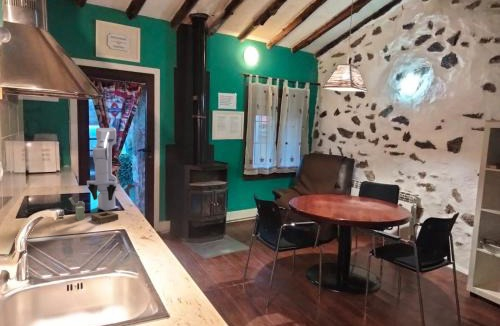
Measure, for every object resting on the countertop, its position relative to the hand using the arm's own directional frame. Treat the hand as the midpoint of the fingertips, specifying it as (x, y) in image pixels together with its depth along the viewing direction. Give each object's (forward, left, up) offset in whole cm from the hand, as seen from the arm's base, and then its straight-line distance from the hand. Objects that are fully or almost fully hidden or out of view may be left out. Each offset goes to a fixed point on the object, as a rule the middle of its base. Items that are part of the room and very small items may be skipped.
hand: (102, 199), depth 163 cm
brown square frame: (+2, 0, -10) cm, 10 cm away
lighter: (-22, -3, -10) cm, 24 cm away
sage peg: (-8, -8, -10) cm, 15 cm away
